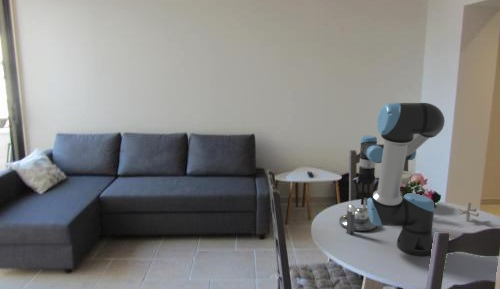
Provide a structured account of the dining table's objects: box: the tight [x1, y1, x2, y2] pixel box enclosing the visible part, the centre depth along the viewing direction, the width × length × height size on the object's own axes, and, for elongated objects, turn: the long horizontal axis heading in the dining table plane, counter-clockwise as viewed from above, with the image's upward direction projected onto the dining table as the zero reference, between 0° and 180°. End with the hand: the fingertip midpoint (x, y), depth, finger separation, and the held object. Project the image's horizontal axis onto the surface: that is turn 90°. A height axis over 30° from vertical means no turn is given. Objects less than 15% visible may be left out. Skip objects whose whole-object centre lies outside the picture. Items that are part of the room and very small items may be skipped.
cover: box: [354, 207, 368, 224], centre depth 189 cm, size 8×8×6 cm
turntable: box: [339, 207, 378, 232], centre depth 190 cm, size 19×18×5 cm
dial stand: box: [345, 204, 356, 236], centre depth 179 cm, size 5×2×14 cm, turn 33°
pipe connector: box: [457, 201, 480, 223], centre depth 191 cm, size 10×10×10 cm
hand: (364, 210), depth 197 cm, fingers closed
